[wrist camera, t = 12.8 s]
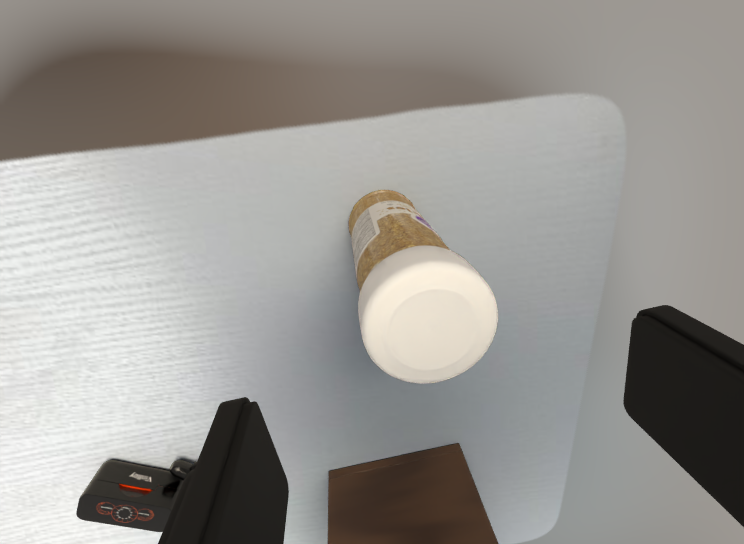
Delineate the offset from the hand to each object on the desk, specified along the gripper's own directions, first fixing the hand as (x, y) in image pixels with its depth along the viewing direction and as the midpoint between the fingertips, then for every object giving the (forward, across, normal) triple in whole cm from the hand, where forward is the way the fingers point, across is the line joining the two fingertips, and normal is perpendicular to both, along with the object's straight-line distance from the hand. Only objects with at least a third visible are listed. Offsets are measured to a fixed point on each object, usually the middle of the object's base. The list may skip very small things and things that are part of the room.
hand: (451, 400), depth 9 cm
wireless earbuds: (+17, +21, +16) cm, 32 cm away
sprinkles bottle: (+16, 0, 0) cm, 17 cm away
